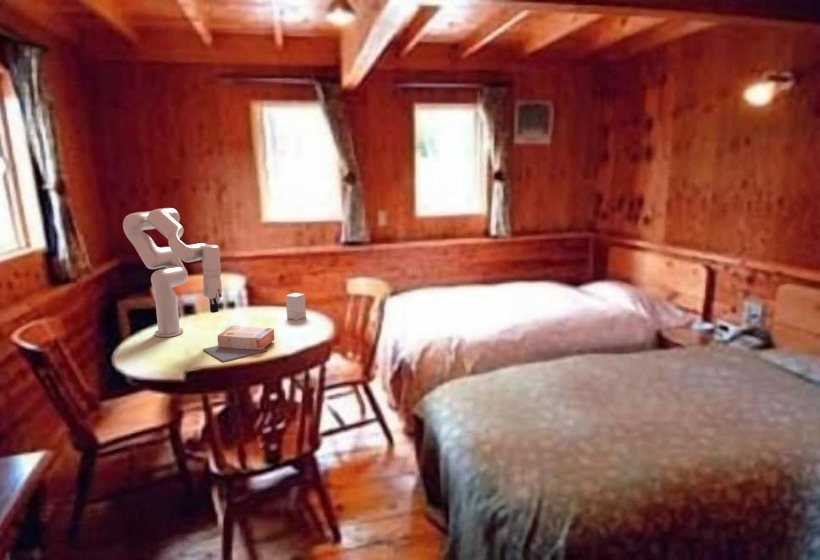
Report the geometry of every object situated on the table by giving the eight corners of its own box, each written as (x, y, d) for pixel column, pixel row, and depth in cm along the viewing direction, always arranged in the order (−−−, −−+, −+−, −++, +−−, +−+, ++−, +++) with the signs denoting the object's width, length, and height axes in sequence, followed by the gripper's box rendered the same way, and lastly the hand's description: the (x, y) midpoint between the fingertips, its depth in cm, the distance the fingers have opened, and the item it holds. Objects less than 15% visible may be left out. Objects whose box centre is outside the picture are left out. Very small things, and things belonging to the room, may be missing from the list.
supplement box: (306, 317, 298) (305, 294, 296) (296, 320, 292) (295, 297, 290) (296, 315, 302) (295, 292, 300) (286, 318, 296) (285, 295, 293)
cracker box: (217, 348, 248) (261, 350, 245) (216, 335, 247) (260, 337, 243) (233, 338, 262) (275, 340, 258) (232, 325, 260) (274, 327, 257)
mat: (202, 350, 246) (202, 348, 246) (245, 340, 260) (245, 339, 260) (223, 362, 232) (223, 360, 232) (266, 351, 246) (266, 350, 245)
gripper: (197, 271, 255) (199, 310, 259) (211, 276, 244) (213, 317, 248) (213, 269, 260) (215, 307, 264) (227, 274, 249) (229, 314, 253)
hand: (214, 311), depth 256 cm, fingers closed
